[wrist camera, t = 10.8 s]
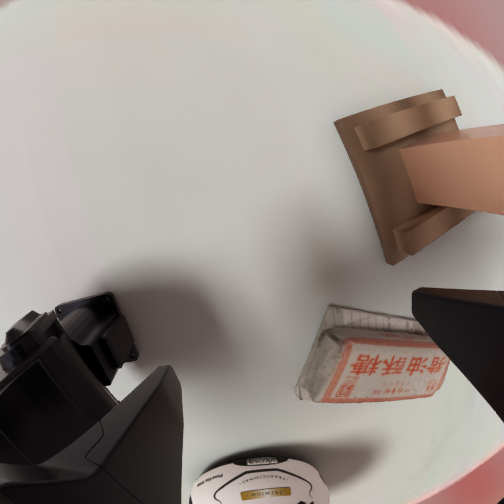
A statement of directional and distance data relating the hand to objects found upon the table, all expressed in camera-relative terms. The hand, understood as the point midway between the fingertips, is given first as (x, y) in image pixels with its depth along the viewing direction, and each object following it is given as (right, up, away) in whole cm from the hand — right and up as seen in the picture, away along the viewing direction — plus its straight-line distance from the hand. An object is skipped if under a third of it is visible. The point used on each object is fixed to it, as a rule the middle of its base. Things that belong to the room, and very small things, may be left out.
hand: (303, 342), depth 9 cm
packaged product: (+12, -8, +17) cm, 23 cm away
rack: (+14, +11, +13) cm, 22 cm away
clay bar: (+14, +11, +12) cm, 21 cm away
